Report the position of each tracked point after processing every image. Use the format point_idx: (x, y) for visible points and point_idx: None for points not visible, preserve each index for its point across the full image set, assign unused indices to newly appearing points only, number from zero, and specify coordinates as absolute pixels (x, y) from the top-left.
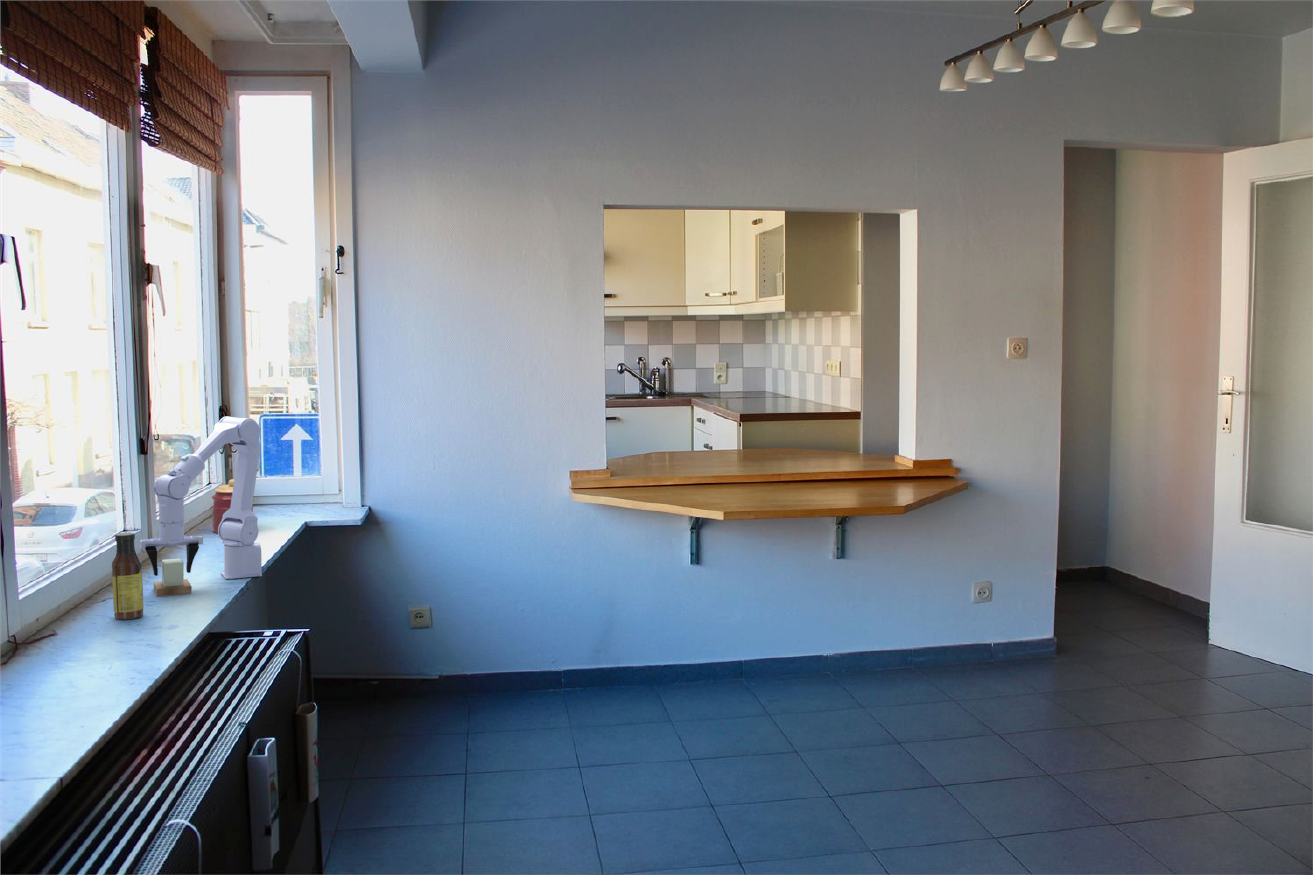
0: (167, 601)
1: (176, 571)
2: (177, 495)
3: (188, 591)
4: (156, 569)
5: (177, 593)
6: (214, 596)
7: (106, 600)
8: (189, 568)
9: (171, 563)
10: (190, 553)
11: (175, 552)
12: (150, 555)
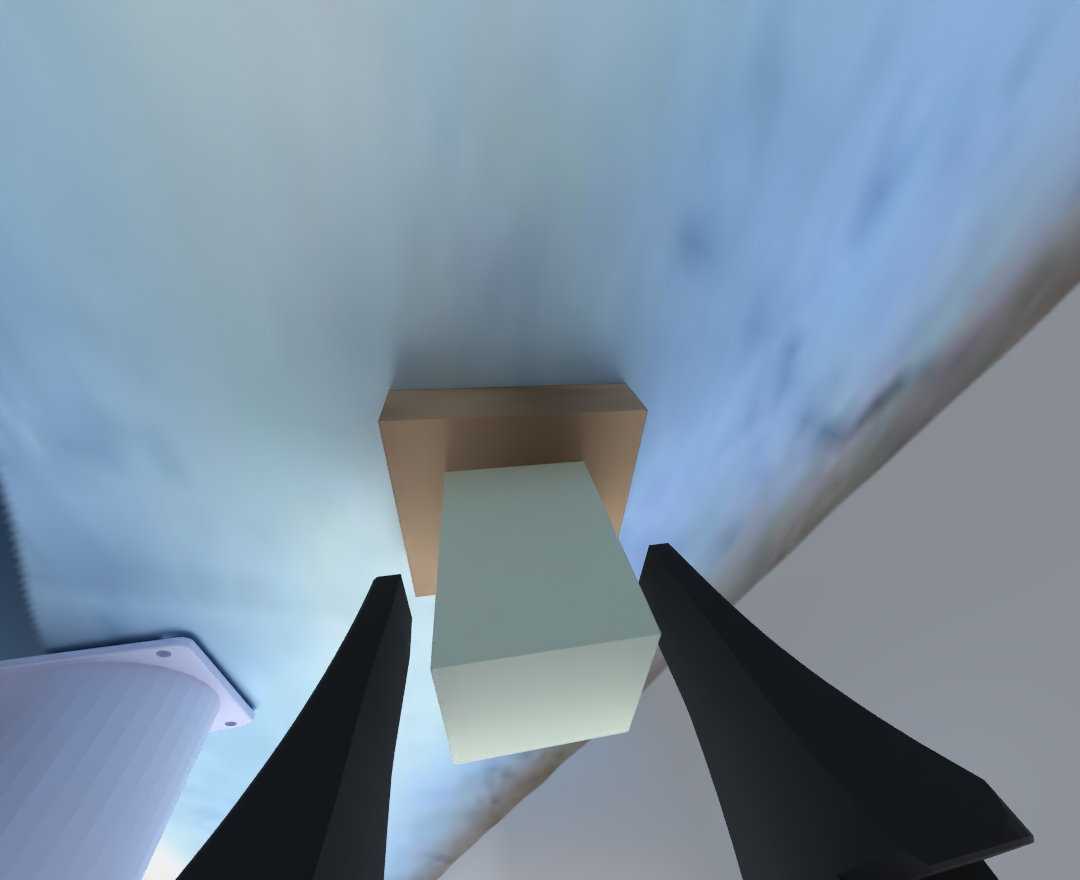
0: (601, 171)
1: (508, 558)
2: None
3: (410, 396)
4: (690, 584)
5: (492, 391)
6: (120, 162)
7: (875, 395)
8: (373, 611)
9: (578, 641)
10: (288, 859)
11: (451, 839)
12: (904, 746)
